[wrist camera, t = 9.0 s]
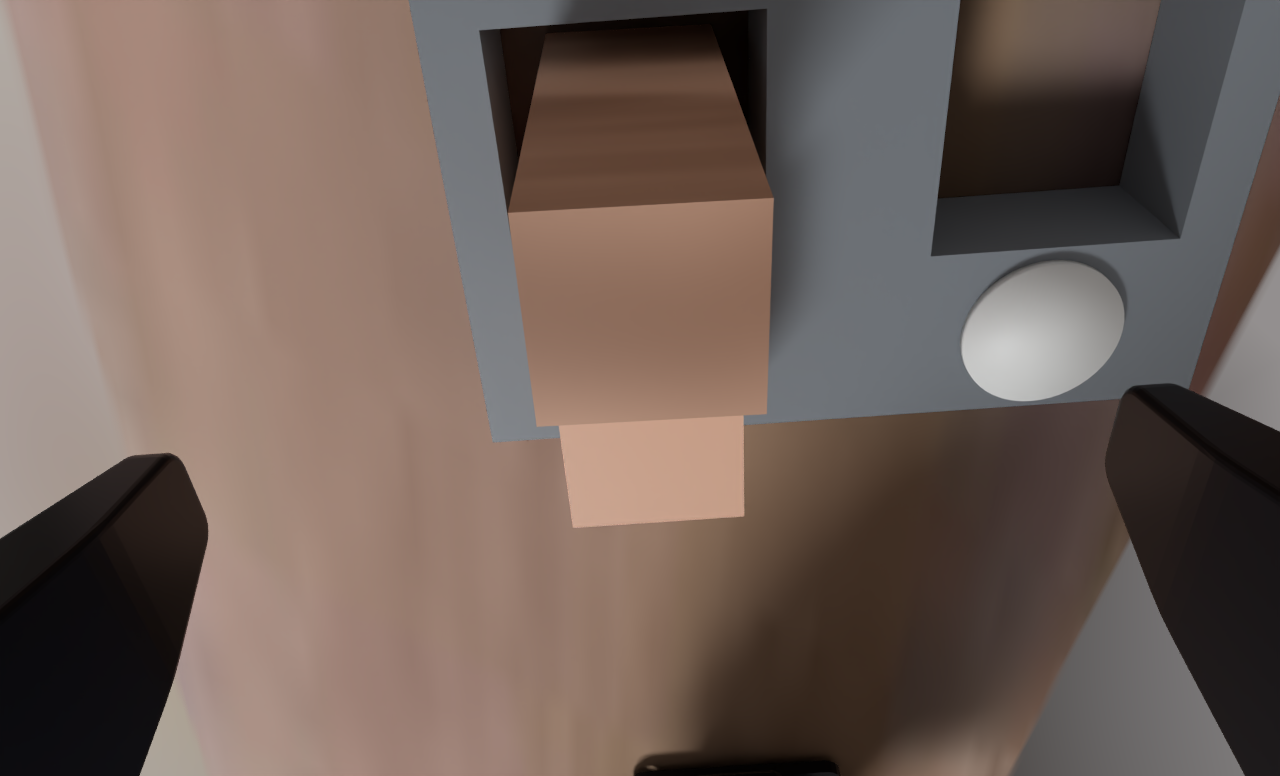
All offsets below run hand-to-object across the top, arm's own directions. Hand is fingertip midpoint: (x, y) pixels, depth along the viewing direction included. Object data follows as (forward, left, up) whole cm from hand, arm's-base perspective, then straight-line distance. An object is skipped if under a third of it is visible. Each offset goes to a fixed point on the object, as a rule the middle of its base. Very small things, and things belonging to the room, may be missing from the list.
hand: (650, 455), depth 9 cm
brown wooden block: (0, 0, -11) cm, 11 cm away
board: (-1, -4, -11) cm, 12 cm away
